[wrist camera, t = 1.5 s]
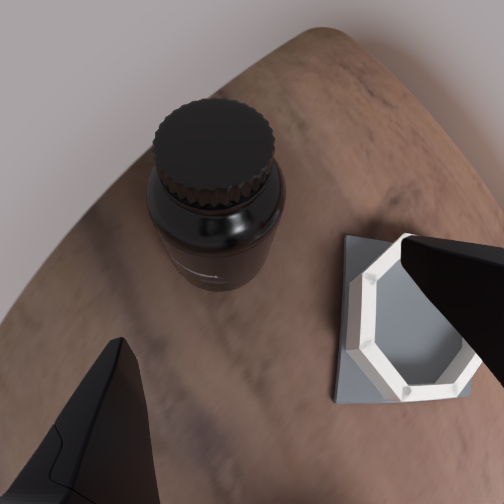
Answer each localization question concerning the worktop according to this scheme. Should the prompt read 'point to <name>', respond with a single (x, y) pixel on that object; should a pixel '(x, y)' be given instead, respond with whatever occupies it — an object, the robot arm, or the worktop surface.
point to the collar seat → (394, 333)
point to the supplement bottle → (216, 191)
